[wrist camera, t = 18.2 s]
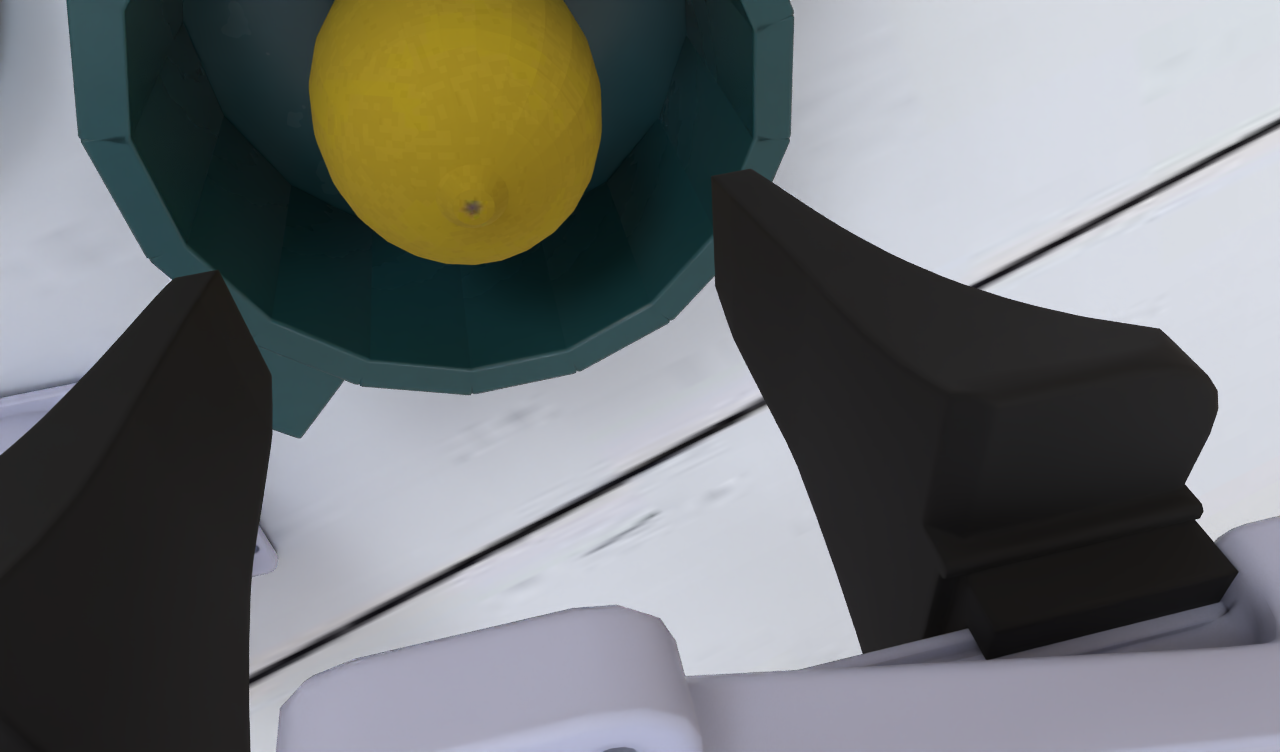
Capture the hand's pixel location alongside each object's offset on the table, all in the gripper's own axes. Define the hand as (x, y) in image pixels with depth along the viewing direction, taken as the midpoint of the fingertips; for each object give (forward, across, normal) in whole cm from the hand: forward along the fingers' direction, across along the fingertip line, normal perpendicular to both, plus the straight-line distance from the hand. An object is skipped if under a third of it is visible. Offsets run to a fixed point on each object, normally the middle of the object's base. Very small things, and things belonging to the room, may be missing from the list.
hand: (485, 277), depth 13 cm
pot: (+10, 0, 0) cm, 10 cm away
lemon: (+10, 0, 0) cm, 10 cm away
